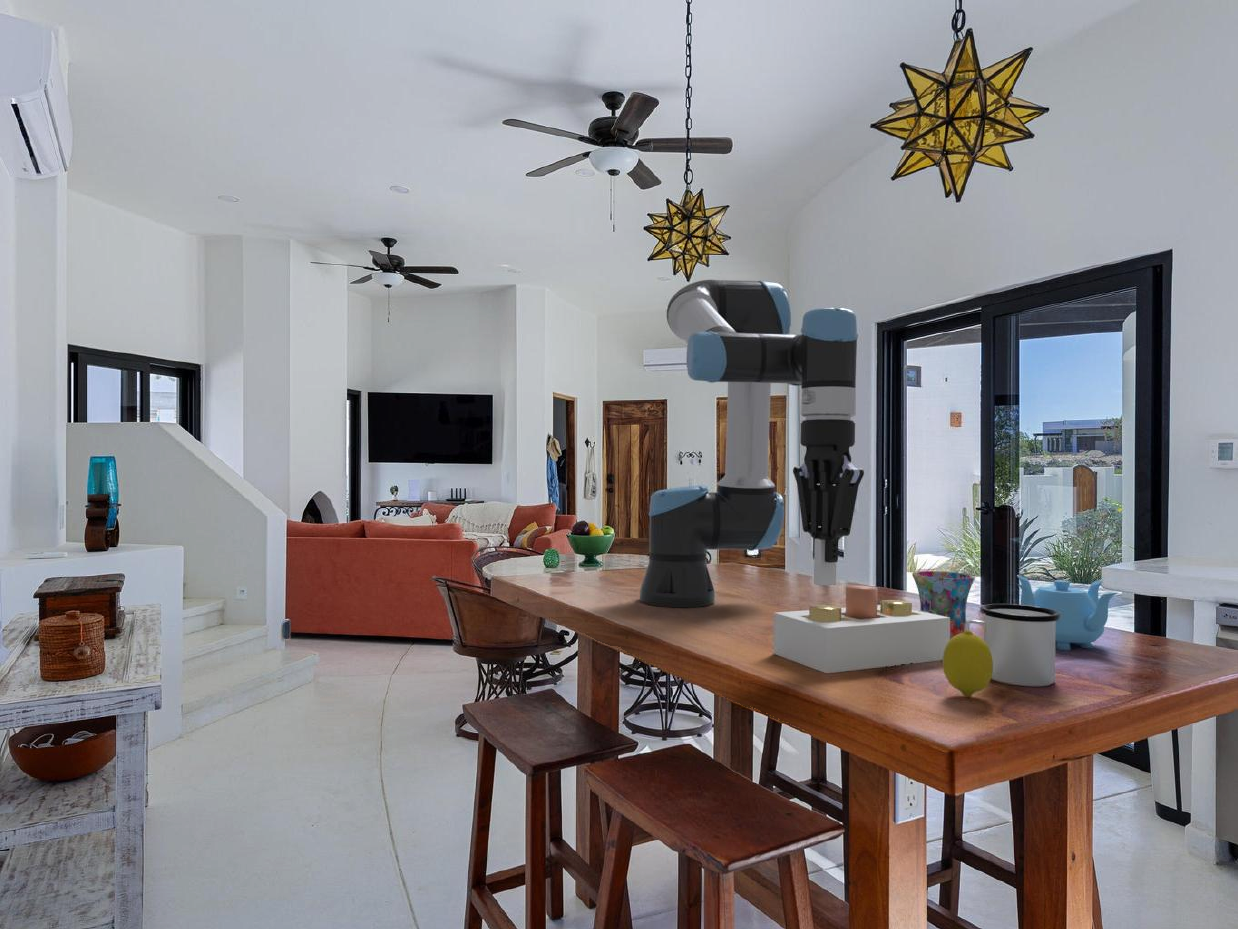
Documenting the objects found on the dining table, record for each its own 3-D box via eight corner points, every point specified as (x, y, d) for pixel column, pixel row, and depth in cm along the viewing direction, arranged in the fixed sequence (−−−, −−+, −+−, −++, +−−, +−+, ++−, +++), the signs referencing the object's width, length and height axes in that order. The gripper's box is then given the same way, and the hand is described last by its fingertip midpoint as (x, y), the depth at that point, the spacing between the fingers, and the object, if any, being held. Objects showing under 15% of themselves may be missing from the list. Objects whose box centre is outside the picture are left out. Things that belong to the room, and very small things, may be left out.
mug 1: (954, 650, 120) (955, 580, 120) (899, 639, 127) (900, 573, 127) (994, 640, 127) (995, 574, 127) (940, 631, 135) (941, 568, 135)
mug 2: (1072, 680, 103) (1073, 611, 103) (1040, 693, 97) (1041, 619, 97) (981, 662, 113) (982, 598, 113) (947, 672, 107) (948, 605, 107)
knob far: (873, 634, 119) (874, 600, 119) (896, 632, 121) (896, 599, 121) (894, 640, 115) (895, 605, 115) (917, 637, 117) (918, 603, 117)
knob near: (802, 640, 114) (803, 605, 114) (827, 638, 115) (827, 604, 116) (822, 647, 110) (822, 611, 110) (847, 644, 111) (848, 609, 111)
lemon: (951, 687, 99) (952, 623, 99) (998, 696, 95) (999, 630, 95) (935, 697, 95) (936, 630, 95) (984, 707, 91) (985, 637, 91)
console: (773, 653, 116) (774, 612, 116) (889, 642, 125) (890, 604, 125) (826, 673, 105) (826, 628, 105) (949, 659, 114) (950, 617, 114)
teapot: (1016, 633, 134) (1016, 573, 134) (1107, 641, 128) (1107, 578, 128) (1017, 648, 122) (1017, 582, 123) (1117, 657, 117) (1118, 589, 117)
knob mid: (839, 620, 116) (839, 586, 116) (862, 618, 118) (863, 584, 118) (859, 625, 112) (860, 590, 112) (883, 623, 114) (884, 589, 114)
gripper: (778, 419, 117) (776, 579, 117) (836, 416, 105) (833, 593, 105) (820, 421, 120) (817, 576, 120) (880, 418, 108) (877, 590, 109)
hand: (824, 584), depth 113 cm, fingers closed
